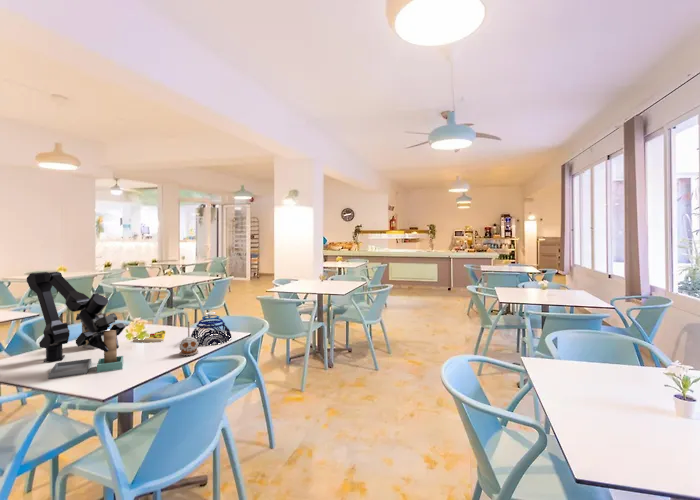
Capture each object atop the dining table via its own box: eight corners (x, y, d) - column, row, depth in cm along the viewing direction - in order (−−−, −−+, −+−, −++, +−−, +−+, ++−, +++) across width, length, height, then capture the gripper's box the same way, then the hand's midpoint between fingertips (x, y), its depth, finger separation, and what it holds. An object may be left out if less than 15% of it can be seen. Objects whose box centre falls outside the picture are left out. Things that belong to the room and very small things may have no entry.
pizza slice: (130, 343, 194) (130, 338, 194) (151, 333, 214) (151, 328, 214) (161, 343, 194) (161, 338, 194) (179, 333, 215) (179, 328, 214)
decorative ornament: (180, 357, 171) (179, 324, 170) (179, 352, 177) (178, 320, 177) (199, 355, 174) (198, 322, 174) (197, 350, 181) (196, 319, 180)
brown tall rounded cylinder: (104, 366, 159) (104, 330, 158) (117, 365, 161) (116, 329, 160) (103, 370, 155) (103, 333, 154) (116, 368, 157) (115, 332, 156)
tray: (56, 367, 157) (56, 362, 157) (91, 363, 163) (91, 358, 163) (48, 379, 145) (48, 373, 145) (86, 373, 150) (86, 368, 150)
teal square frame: (99, 365, 159) (99, 358, 159) (123, 362, 163) (123, 355, 163) (97, 372, 152) (96, 365, 152) (122, 369, 156) (121, 361, 156)
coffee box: (107, 345, 188) (106, 313, 187) (94, 349, 182) (93, 316, 181) (94, 343, 191) (93, 312, 191) (81, 347, 185) (80, 314, 185)
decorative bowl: (192, 348, 185) (192, 318, 184) (187, 338, 202) (187, 311, 202) (234, 342, 195) (234, 314, 194) (226, 333, 212) (226, 308, 212)
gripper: (80, 312, 149) (102, 343, 146) (121, 304, 167) (142, 331, 164) (65, 331, 152) (87, 361, 149) (108, 321, 169) (128, 347, 167)
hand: (112, 349), depth 157 cm, fingers closed on brown tall rounded cylinder, 4 cm apart
